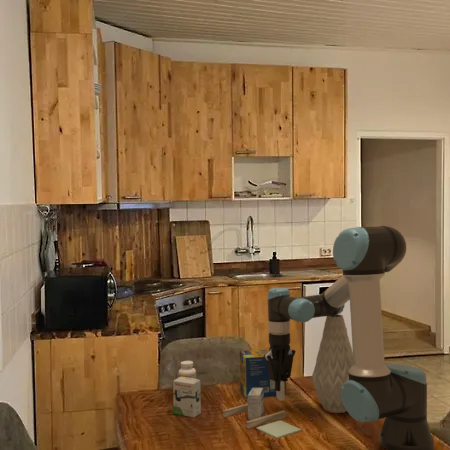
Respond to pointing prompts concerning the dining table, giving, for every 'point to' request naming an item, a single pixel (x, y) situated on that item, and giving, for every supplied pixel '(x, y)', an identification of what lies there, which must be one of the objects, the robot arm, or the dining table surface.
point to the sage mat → (278, 429)
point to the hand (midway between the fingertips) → (280, 399)
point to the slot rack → (258, 420)
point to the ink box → (187, 396)
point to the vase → (333, 364)
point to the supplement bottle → (187, 370)
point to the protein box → (255, 373)
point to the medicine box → (255, 403)
